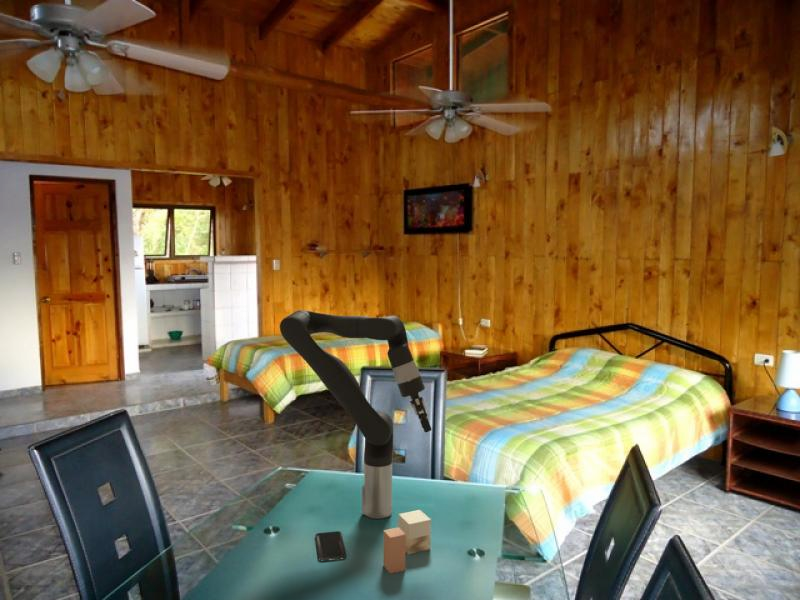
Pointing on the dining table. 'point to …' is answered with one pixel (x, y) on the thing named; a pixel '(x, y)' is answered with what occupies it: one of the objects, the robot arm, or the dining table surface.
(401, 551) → the stack block
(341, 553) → the phone
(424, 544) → the tower base
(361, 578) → the dining table surface
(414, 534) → the tower top
